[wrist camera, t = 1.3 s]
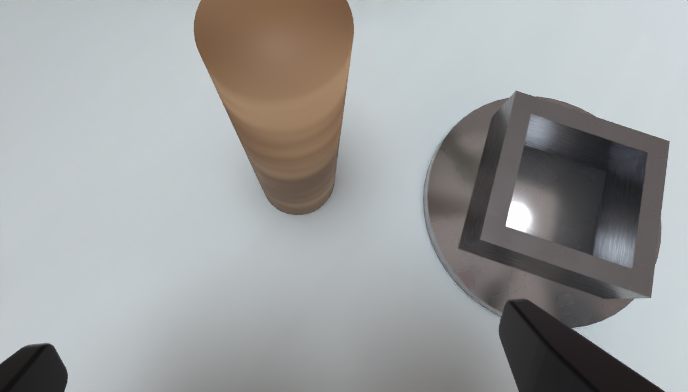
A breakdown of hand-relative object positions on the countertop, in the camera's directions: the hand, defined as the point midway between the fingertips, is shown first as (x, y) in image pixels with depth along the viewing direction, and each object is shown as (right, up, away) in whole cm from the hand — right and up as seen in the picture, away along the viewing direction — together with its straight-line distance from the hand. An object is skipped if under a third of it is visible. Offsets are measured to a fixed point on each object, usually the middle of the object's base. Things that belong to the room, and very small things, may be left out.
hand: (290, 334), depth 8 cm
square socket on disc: (+12, +2, +15) cm, 19 cm away
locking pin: (-1, +4, +15) cm, 15 cm away
